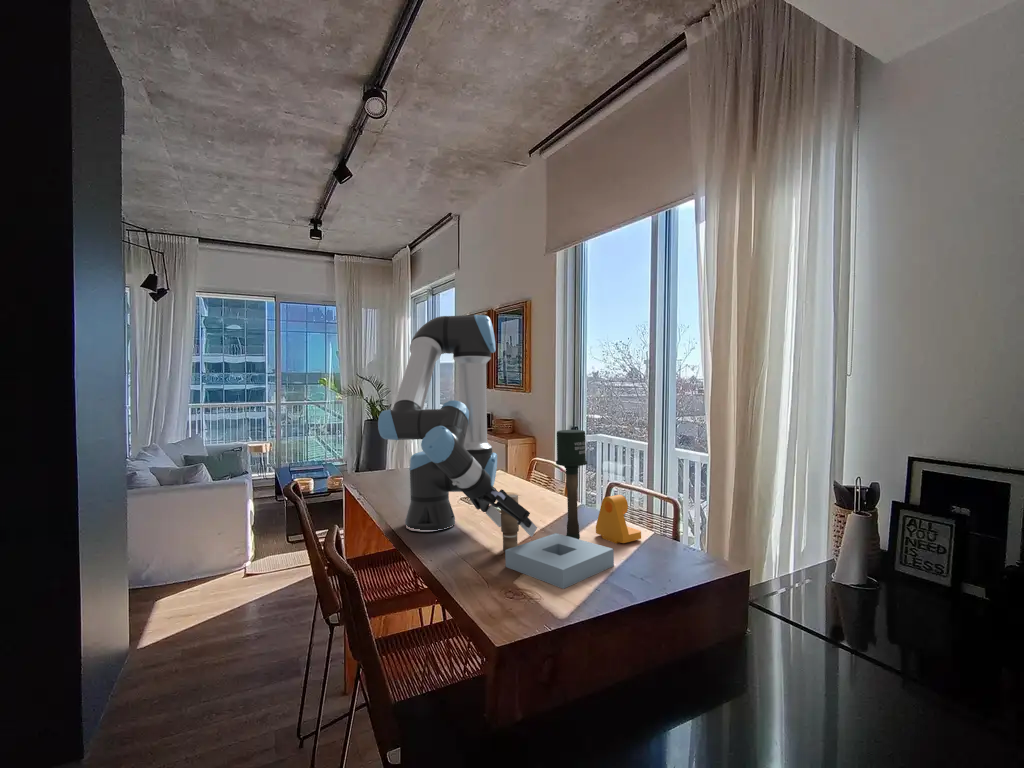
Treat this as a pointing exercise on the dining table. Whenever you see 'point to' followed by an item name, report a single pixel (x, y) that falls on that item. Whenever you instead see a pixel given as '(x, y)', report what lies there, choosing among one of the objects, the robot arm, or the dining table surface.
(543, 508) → the dining table surface
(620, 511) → the bracket
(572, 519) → the potato masher grenade
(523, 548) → the socket plate
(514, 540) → the peg
